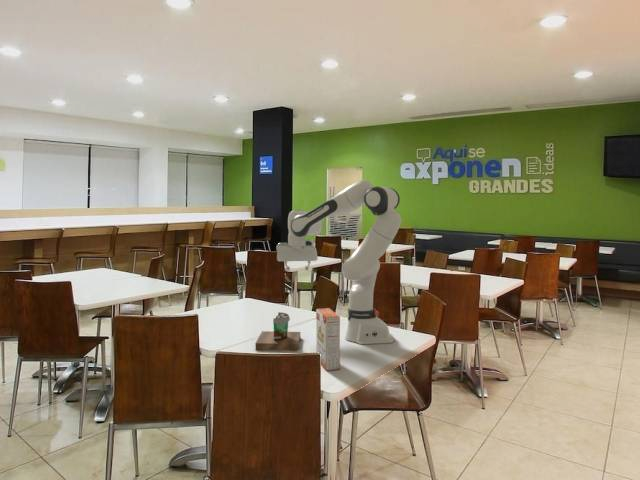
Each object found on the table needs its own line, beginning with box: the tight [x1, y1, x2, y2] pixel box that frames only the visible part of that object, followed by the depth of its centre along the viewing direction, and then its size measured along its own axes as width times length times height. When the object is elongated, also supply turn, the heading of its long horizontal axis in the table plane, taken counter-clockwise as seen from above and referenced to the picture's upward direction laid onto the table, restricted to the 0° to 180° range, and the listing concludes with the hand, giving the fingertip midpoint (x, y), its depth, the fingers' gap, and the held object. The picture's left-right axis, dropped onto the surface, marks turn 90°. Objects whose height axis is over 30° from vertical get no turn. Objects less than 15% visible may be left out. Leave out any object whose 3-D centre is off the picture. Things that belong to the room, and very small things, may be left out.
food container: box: [273, 311, 291, 340], centre depth 206 cm, size 12×6×10 cm, turn 174°
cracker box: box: [315, 307, 341, 372], centre depth 181 cm, size 14×6×21 cm, turn 15°
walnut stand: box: [254, 330, 301, 352], centre depth 207 cm, size 18×18×3 cm
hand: (297, 270), depth 231 cm, fingers open, 8 cm apart
